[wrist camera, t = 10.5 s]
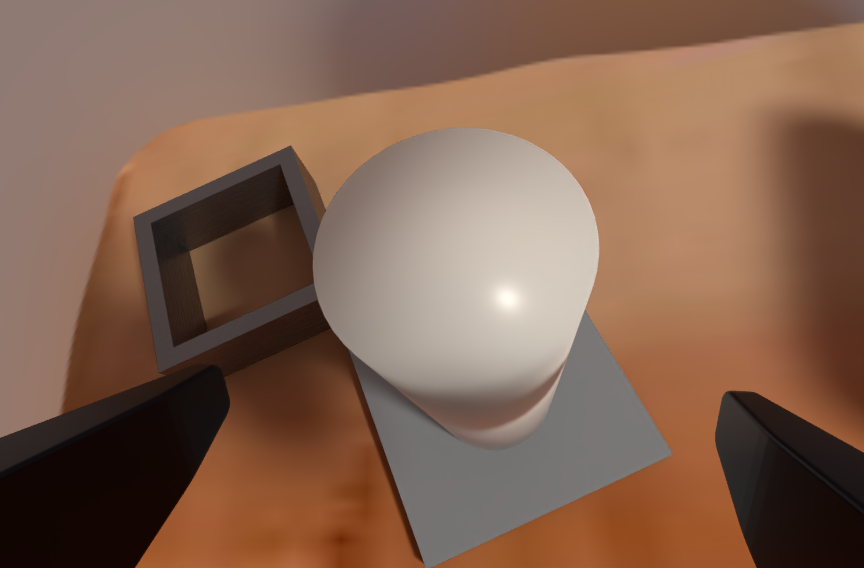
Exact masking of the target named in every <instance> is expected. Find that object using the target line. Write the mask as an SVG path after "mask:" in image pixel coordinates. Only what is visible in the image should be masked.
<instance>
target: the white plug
mask: <svg viewBox="0 0 864 568" xmlns="http://www.w3.org/2000/svg"><path fill="white" fill-rule="evenodd" d="M598 257H599V240H598V230H597V226H596V221H595V216H594V214H593V211H592V208H591V206H590V203H589V200H588V199H587V197H586V195H585V193H584V191H583V190H582V188H581V186H580V185H579V183H578V182H577V181H576V179H575V178H574V177H573V175H572V174H571V173H570V172H569V171H568V170H567V169H566V168H565V167H564V166H563V165H562V164H561V163H560V162H559V161H558V160H557V159H555V158H554V157H553V156H551V155H550V154H549V153H547V152H546V151H545V150H543V149H541V148H539V147H538V146H536V145H534V144H532V143H531V142H528V141H526V140H524V139H521V138H519V137H516V136H513V135H510V134H507V133H503V132H500V131H494V130H488V129H481V128H449V129H443V130H436V131H431V132H427V133H423V134H419V135H416V136H413V137H411V138H408V139H405V140H403V141H400V142H398V143H396V144H394V145H392V146H390V147H388V148H386V149H384V150H383V151H381V152H380V153H378V154H377V155H375V156H373V157H372V158H371V159H369V160H368V161H367V162H366V163H364V164H363V165H362V166H361V167H359V168H358V169H357V170H356V171H355V172H354V173H353V174H352V175H351V176H350V177H349V178H348V179H347V180H346V182H345V183H344V184H343V185H342V187H341V188H340V189H339V190H338V192H337V193H336V195H335V196H334V198H333V199H332V201H331V203H330V204H329V206H328V208H327V210H326V212H325V214H324V216H323V218H322V221H321V224H320V227H319V230H318V233H317V236H316V241H315V246H314V252H313V277H314V286H315V290H316V294H317V298H318V302H319V304H320V307H321V309H322V312H323V314H324V316H325V318H326V320H327V321H328V323H329V325H330V327H331V328H332V330H333V331H334V333H335V334H336V335H337V336H338V338H339V339H340V340H341V341H342V343H343V344H344V345H345V346H346V347H347V348H348V349H349V350H351V351H352V352H353V353H354V354H355V355H356V356H357V357H358V358H359V359H361V360H362V361H363V362H364V363H366V364H367V365H368V366H369V367H370V368H372V369H373V370H374V371H375V372H377V373H378V374H379V375H380V376H381V377H383V378H384V379H385V380H386V381H388V382H389V383H390V384H391V385H392V386H394V387H395V388H396V389H397V390H399V391H400V392H401V393H402V394H404V395H405V396H406V397H407V398H408V399H410V400H411V401H412V402H413V403H415V404H416V405H417V406H418V407H419V408H421V409H422V410H423V411H424V412H426V413H427V414H428V415H429V416H430V417H432V418H433V419H434V420H435V421H437V422H438V423H439V424H440V425H441V426H443V427H444V428H445V429H446V430H448V431H449V432H450V433H451V434H452V435H454V436H455V437H456V438H458V439H459V440H461V441H462V442H464V443H466V444H468V445H470V446H472V447H475V448H479V449H484V450H503V449H507V448H511V447H514V446H516V445H518V444H520V443H522V442H524V441H525V440H527V439H528V438H530V437H531V436H532V435H533V434H534V433H535V432H536V431H537V430H538V428H539V427H540V426H541V424H542V423H543V421H544V419H545V417H546V415H547V413H548V410H549V407H550V404H551V402H552V399H553V396H554V393H555V391H556V388H557V385H558V382H559V379H560V377H561V374H562V371H563V368H564V366H565V363H566V360H567V357H568V354H569V352H570V349H571V346H572V343H573V341H574V338H575V335H576V332H577V330H578V327H579V324H580V321H581V318H582V316H583V313H584V310H585V307H586V305H587V302H588V299H589V296H590V293H591V291H592V288H593V284H594V280H595V276H596V272H597V268H598Z"/></svg>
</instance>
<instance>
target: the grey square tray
mask: <svg viewBox="0 0 864 568" xmlns="http://www.w3.org/2000/svg"><path fill="white" fill-rule="evenodd" d="M291 204H294V205H295V208H296V211H297V214H298V216H299V219H300V222H301V225H302V228H303V231H304V233H305V236H306V239H307V242H308V245H309V248H310V251H311V253H312V256H313V252H314V246H315V241H316V236H317V233H318V230H319V227H320V224H321V221H322V218H323V216H324V214H325V212H326V209H325V207H324V204H323V202H322V199H321V196H320V194H319V191H318V189H317V186H316V183H315V181H314V179H313V178H312V176H311V175H310V173H309V172H308V170H307V169H306V167H305V166H304V164H303V163H302V161H301V160H300V158H299V157H298V155H297V154H296V152H295V151H294V149H293V148H292V146H289V147H286V148H284V149H282V150H280V151H278V152H275V153H273V154H271V155H269V156H267V157H264V158H262V159H260V160H258V161H256V162H253V163H251V164H249V165H247V166H245V167H242V168H240V169H238V170H236V171H234V172H232V173H229V174H227V175H225V176H223V177H221V178H218V179H216V180H214V181H212V182H210V183H207V184H205V185H203V186H201V187H199V188H196V189H194V190H192V191H190V192H188V193H185V194H183V195H181V196H179V197H177V198H174V199H172V200H170V201H168V202H166V203H163V204H161V205H159V206H157V207H155V208H152V209H150V210H148V211H146V212H144V213H142V214H139V215H137V216H135V217H133V219H134V225H135V231H136V237H137V243H138V249H139V255H140V262H141V268H142V274H143V280H144V286H145V292H146V298H147V304H148V310H149V316H150V322H151V329H152V335H153V341H154V347H155V353H156V359H157V365H158V371H159V373H161V374H164V375H168V374H171V373H174V372H176V371H179V370H182V369H184V368H187V367H190V366H192V365H195V364H199V363H203V364H216V365H218V366H220V368H221V369H222V371H223V375H224V377H225V376H227V375H229V374H231V373H233V372H235V371H238V370H240V369H242V368H244V367H246V366H248V365H251V364H253V363H255V362H257V361H259V360H261V359H264V358H266V357H268V356H270V355H272V354H275V353H277V352H279V351H281V350H283V349H285V348H288V347H290V346H292V345H294V344H296V343H298V342H301V341H303V340H305V339H307V338H309V337H311V336H314V335H316V334H318V333H320V332H322V331H324V330H327V329H329V328H331V327H330V325H329V323H328V321H327V320H326V318H325V316H324V314H323V312H322V309H321V307H320V304H319V302H318V298H317V294H316V290H315V286H314V283H313V284H311V285H308V286H306V287H304V288H302V289H300V290H298V291H295V292H293V293H291V294H289V295H287V296H285V297H282V298H280V299H278V300H276V301H274V302H271V303H269V304H267V305H265V306H263V307H261V308H258V309H256V310H254V311H252V312H250V313H247V314H245V315H243V316H241V317H239V318H237V319H234V320H232V321H230V322H228V323H226V324H224V325H221V326H219V327H217V328H215V329H213V330H210V331H208V332H207V330H206V325H205V320H204V316H203V311H202V307H201V302H200V298H199V293H198V289H197V284H196V279H195V275H194V270H193V266H192V261H191V257H190V252H189V251H191V250H193V249H195V248H197V247H200V246H202V245H204V244H206V243H208V242H210V241H213V240H215V239H217V238H219V237H221V236H224V235H226V234H228V233H230V232H232V231H235V230H237V229H239V228H241V227H243V226H245V225H248V224H250V223H252V222H254V221H256V220H259V219H261V218H263V217H265V216H267V215H270V214H272V213H274V212H276V211H278V210H280V209H283V208H285V207H287V206H289V205H291Z"/></svg>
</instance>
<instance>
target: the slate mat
mask: <svg viewBox="0 0 864 568" xmlns="http://www.w3.org/2000/svg"><path fill="white" fill-rule="evenodd" d="M348 350H349V349H348ZM349 352H350V355H351V358H352V361H353V364H354V367H355V369H356V372H357V375H358V378H359V381H360V384H361V386H362V389H363V392H364V395H365V398H366V400H367V403H368V406H369V409H370V412H371V415H372V417H373V420H374V423H375V426H376V429H377V431H378V434H379V437H380V440H381V443H382V446H383V448H384V451H385V454H386V457H387V460H388V462H389V465H390V468H391V471H392V474H393V477H394V479H395V482H396V485H397V488H398V491H399V493H400V496H401V499H402V502H403V505H404V508H405V510H406V513H407V516H408V519H409V522H410V525H411V527H412V530H413V533H414V536H415V539H416V541H417V544H418V547H419V550H420V553H421V556H422V558H423V561H424V564H425V567H426V568H431V567H433V566H435V565H438V564H440V563H442V562H444V561H446V560H448V559H450V558H453V557H455V556H457V555H459V554H461V553H463V552H465V551H467V550H470V549H472V548H474V547H476V546H478V545H480V544H482V543H485V542H487V541H489V540H491V539H493V538H495V537H497V536H500V535H502V534H504V533H506V532H508V531H510V530H512V529H515V528H517V527H519V526H521V525H523V524H525V523H527V522H529V521H532V520H534V519H536V518H538V517H540V516H542V515H544V514H547V513H549V512H551V511H553V510H555V509H557V508H559V507H562V506H564V505H566V504H568V503H570V502H572V501H574V500H577V499H579V498H581V497H583V496H585V495H587V494H589V493H591V492H594V491H596V490H598V489H600V488H602V487H604V486H606V485H609V484H611V483H613V482H615V481H617V480H619V479H621V478H624V477H626V476H628V475H630V474H632V473H634V472H636V471H639V470H641V469H643V468H645V467H647V466H649V465H651V464H653V463H656V462H658V461H660V460H662V459H664V458H666V457H668V456H671V455H673V453H672V451H671V450H670V448H669V446H668V445H667V443H666V442H665V440H664V438H663V437H662V435H661V433H660V432H659V430H658V428H657V427H656V425H655V424H654V422H653V420H652V419H651V417H650V415H649V414H648V412H647V410H646V409H645V407H644V406H643V404H642V402H641V401H640V399H639V397H638V396H637V394H636V392H635V391H634V389H633V388H632V386H631V384H630V383H629V381H628V379H627V378H626V376H625V374H624V373H623V371H622V370H621V368H620V366H619V365H618V363H617V361H616V360H615V358H614V356H613V355H612V353H611V352H610V350H609V348H608V347H607V345H606V343H605V342H604V340H603V338H602V337H601V335H600V334H599V332H598V330H597V329H596V327H595V325H594V324H593V322H592V320H591V319H590V317H589V316H588V314H587V312H586V311H585V310H584V313H583V316H582V318H581V321H580V324H579V327H578V330H577V332H576V335H575V338H574V341H573V343H572V346H571V349H570V352H569V354H568V357H567V360H566V363H565V366H564V368H563V371H562V374H561V377H560V379H559V382H558V385H557V388H556V391H555V393H554V396H553V399H552V402H551V404H550V407H549V410H548V413H547V415H546V417H545V419H544V421H543V423H542V424H541V426H540V427H539V428H538V430H537V431H536V432H535V433H534V434H533V435H532V436H531V437H530V438H528V439H527V440H525V441H524V442H522V443H520V444H518V445H516V446H514V447H511V448H507V449H503V450H484V449H479V448H475V447H472V446H470V445H468V444H466V443H464V442H462V441H461V440H459V439H458V438H456V437H455V436H454V435H452V434H451V433H450V432H449V431H448V430H446V429H445V428H444V427H443V426H441V425H440V424H439V423H438V422H437V421H435V420H434V419H433V418H432V417H430V416H429V415H428V414H427V413H426V412H424V411H423V410H422V409H421V408H419V407H418V406H417V405H416V404H415V403H413V402H412V401H411V400H410V399H408V398H407V397H406V396H405V395H404V394H402V393H401V392H400V391H399V390H397V389H396V388H395V387H394V386H392V385H391V384H390V383H389V382H388V381H386V380H385V379H384V378H383V377H381V376H380V375H379V374H378V373H377V372H375V371H374V370H373V369H372V368H370V367H369V366H368V365H367V364H366V363H364V362H363V361H362V360H361V359H359V358H358V357H357V356H356V355H355V354H354V353H353V352H352V351H351V350H349Z"/></svg>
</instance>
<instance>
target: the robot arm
mask: <svg viewBox="0 0 864 568" xmlns="http://www.w3.org/2000/svg"><path fill="white" fill-rule="evenodd" d="M229 407H230V399H229V395H228V391H227V387H226V383H225V379H224V375H223V371H222V369H221V368H220V366H218V365H216V364H203V363H199V364H195V365H192V366H190V367H187V368H184V369H182V370H179V371H176V372H174V373H171V374H168V375H166V376H163V377H160V378H158V379H155V380H152V381H150V382H147V383H144V384H142V385H139V386H137V387H134V388H131V389H129V390H126V391H123V392H121V393H118V394H115V395H113V396H110V397H107V398H105V399H102V400H99V401H97V402H94V403H91V404H89V405H86V406H84V407H81V408H78V409H76V410H73V411H70V412H68V413H65V414H62V415H60V416H57V417H55V418H52V419H49V420H46V421H44V422H41V423H39V424H36V425H33V426H31V427H28V428H25V429H23V430H20V431H17V432H15V433H12V434H9V435H7V436H4V437H1V438H0V568H135V567H136V565H137V564H138V562H139V561H140V559H141V558H142V556H143V555H144V553H145V552H146V550H147V549H148V547H149V546H150V544H151V543H152V541H153V540H154V538H155V536H156V535H157V533H158V532H159V530H160V529H161V527H162V526H163V524H164V523H165V521H166V520H167V518H168V517H169V515H170V514H171V512H172V511H173V509H174V507H175V506H176V504H177V503H178V501H179V500H180V498H181V497H182V495H183V494H184V492H185V491H186V489H187V487H188V486H189V484H190V483H191V481H192V479H193V477H194V476H195V474H196V472H197V470H198V468H199V467H200V465H201V463H202V461H203V459H204V457H205V455H206V453H207V451H208V450H209V448H210V446H211V444H212V442H213V440H214V438H215V436H216V434H217V432H218V431H219V429H220V427H221V425H222V423H223V421H224V419H225V417H226V415H227V413H228V411H229ZM715 442H716V447H717V451H718V454H719V458H720V461H721V464H722V468H723V471H724V474H725V478H726V481H727V484H728V488H729V491H730V494H731V498H732V501H733V504H734V507H735V511H736V514H737V517H738V521H739V524H740V527H741V530H742V533H743V536H744V538H745V541H746V543H747V546H748V548H749V551H750V553H751V556H752V558H753V560H754V563H755V565H756V567H757V568H864V453H863V452H862V451H860V450H858V449H856V448H854V447H853V446H851V445H849V444H847V443H845V442H844V441H842V440H840V439H838V438H836V437H835V436H833V435H831V434H829V433H827V432H826V431H824V430H822V429H820V428H818V427H817V426H815V425H813V424H811V423H809V422H808V421H806V420H804V419H802V418H800V417H799V416H797V415H795V414H793V413H791V412H790V411H788V410H786V409H784V408H782V407H781V406H779V405H777V404H775V403H774V402H772V401H770V400H768V399H766V398H765V397H763V396H761V395H759V394H757V393H755V392H749V391H727V392H726V393H725V394H724V395H723V397H722V401H721V406H720V411H719V416H718V421H717V427H716V432H715Z"/></svg>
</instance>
